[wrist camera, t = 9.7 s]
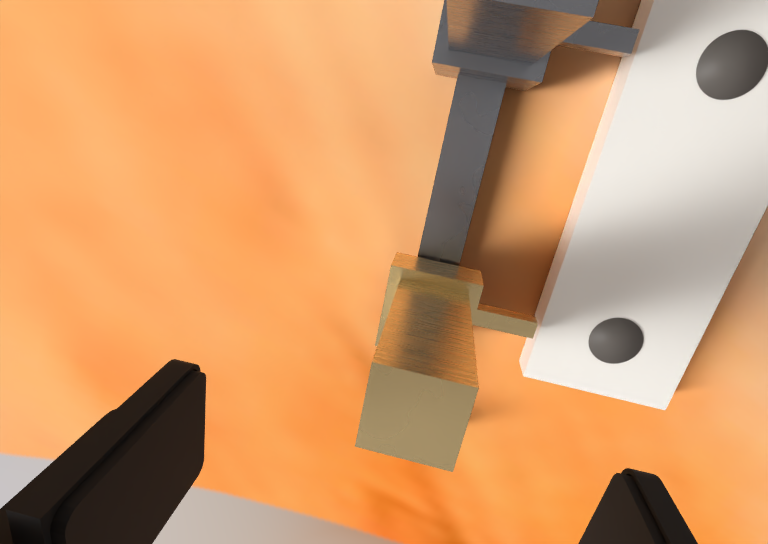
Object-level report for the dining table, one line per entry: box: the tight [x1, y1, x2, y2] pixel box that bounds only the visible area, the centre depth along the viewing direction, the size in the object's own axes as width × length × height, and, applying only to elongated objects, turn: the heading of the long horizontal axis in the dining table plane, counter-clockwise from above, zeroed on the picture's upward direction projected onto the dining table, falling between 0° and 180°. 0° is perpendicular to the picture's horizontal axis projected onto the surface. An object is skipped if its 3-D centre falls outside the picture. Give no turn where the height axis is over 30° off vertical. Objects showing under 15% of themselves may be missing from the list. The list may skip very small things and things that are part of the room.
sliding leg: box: [355, 252, 538, 472], centre depth 16 cm, size 4×7×9 cm, turn 79°
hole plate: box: [519, 0, 768, 410], centre depth 19 cm, size 18×7×2 cm, turn 169°
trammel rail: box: [418, 0, 640, 266], centre depth 16 cm, size 22×7×11 cm, turn 169°
